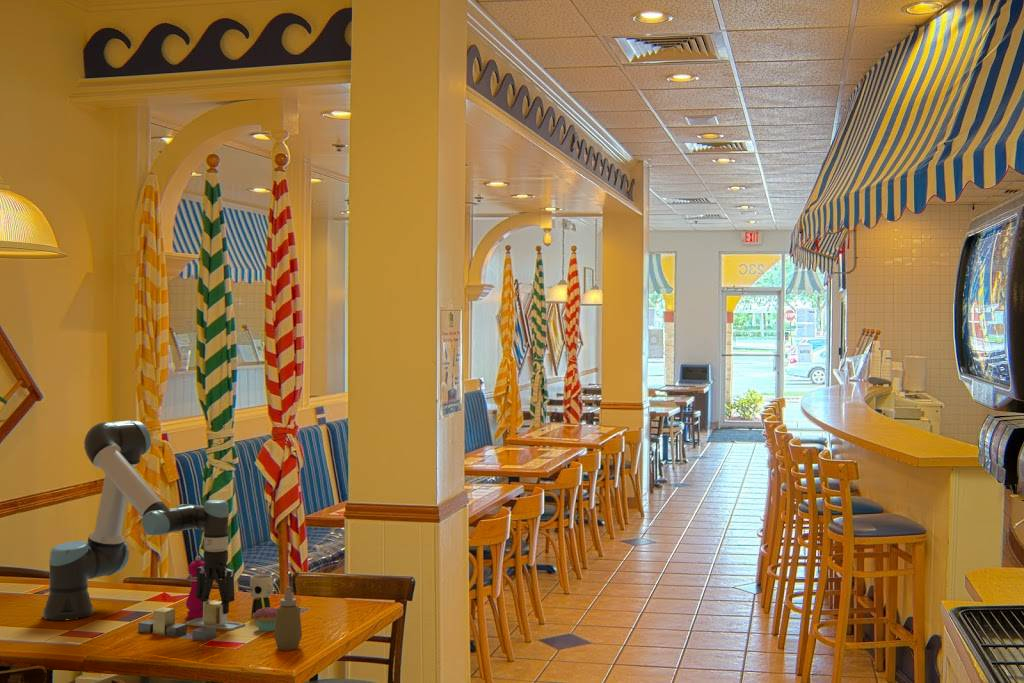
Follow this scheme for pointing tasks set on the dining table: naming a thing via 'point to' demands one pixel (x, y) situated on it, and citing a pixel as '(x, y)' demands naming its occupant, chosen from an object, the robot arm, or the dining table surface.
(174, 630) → the gray notched bar
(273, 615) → the cupcake
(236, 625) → the tray
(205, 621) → the beige rectangular block
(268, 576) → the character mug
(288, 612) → the squeeze bottle
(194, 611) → the pepper mill
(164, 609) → the cream upright block
